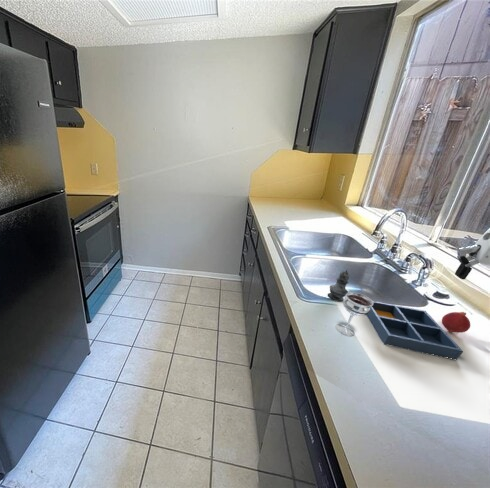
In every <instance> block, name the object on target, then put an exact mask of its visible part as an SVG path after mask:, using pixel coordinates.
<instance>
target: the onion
mask: <svg viewBox="0 0 490 488" xmlns="http://www.w3.org/2000/svg"><path fill="white" fill-rule="evenodd" d="M441 324H442V326H443V327H444V329H446V330H447V331H448V333H454V334H455V333H457V334H459V333H460V334H461V333H466V332H468V330H470V328H471V321H470V318H468V317H467V313H466V311H459V312H457V311H452V312H447V313H446V314H444V315H443V316H442V318H441Z"/></svg>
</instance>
